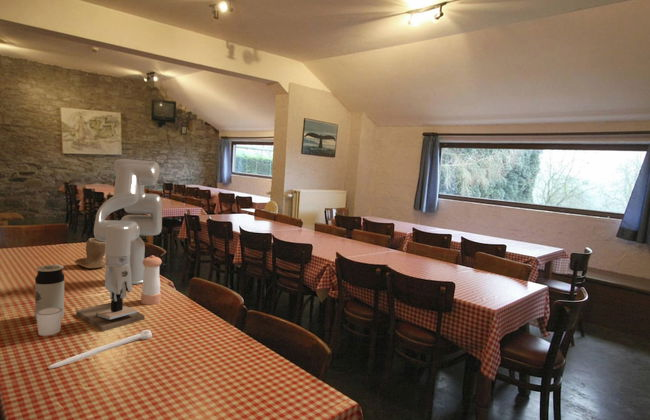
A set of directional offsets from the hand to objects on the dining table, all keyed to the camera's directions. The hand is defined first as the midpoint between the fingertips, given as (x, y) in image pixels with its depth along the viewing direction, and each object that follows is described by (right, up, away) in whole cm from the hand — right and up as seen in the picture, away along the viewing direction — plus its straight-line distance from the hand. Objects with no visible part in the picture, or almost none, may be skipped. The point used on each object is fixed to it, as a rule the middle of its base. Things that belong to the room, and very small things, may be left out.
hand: (116, 310), depth 127 cm
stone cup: (-49, +5, +63) cm, 80 cm away
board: (-4, -3, +3) cm, 6 cm away
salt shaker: (+2, -2, +21) cm, 21 cm away
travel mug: (-23, -2, -1) cm, 23 cm away
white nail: (+9, -7, -20) cm, 23 cm away
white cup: (-15, -4, -11) cm, 19 cm away
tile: (0, 0, 0) cm, 1 cm away
